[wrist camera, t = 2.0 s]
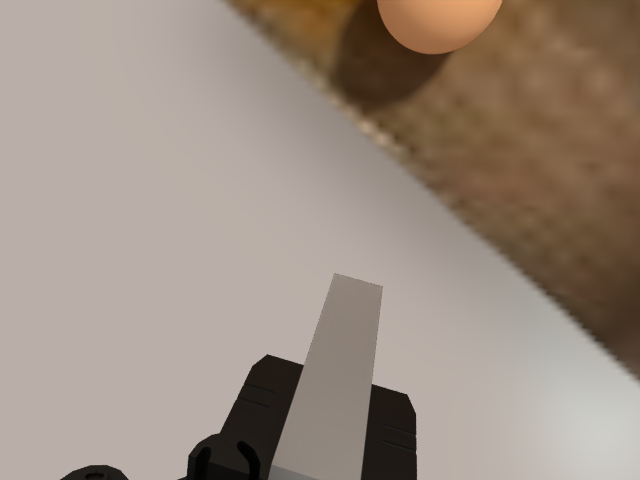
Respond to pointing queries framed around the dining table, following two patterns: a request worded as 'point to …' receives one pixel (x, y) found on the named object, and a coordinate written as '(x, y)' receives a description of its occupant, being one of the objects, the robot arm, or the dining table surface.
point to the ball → (437, 22)
